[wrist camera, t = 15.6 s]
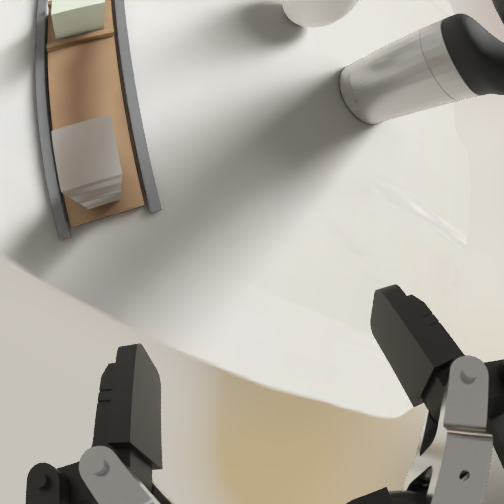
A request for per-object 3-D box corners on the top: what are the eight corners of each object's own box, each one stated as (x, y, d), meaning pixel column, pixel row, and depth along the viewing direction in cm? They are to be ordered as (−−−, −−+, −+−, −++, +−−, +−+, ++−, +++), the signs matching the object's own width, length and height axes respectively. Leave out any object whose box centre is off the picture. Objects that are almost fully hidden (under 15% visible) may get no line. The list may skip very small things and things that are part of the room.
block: (101, -2, 22) (103, -31, 18) (103, 30, 23) (105, 2, 19) (57, 8, 20) (53, -19, 16) (56, 42, 21) (51, 14, 17)
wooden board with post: (109, -1, 24) (126, -102, 10) (143, 205, 28) (168, 184, 14) (50, 12, 21) (39, -85, 7) (73, 226, 26) (27, 226, 12)
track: (118, -61, 22) (119, -65, 21) (160, 209, 29) (161, 209, 28) (46, -46, 18) (46, -51, 17) (61, 239, 25) (59, 240, 25)
